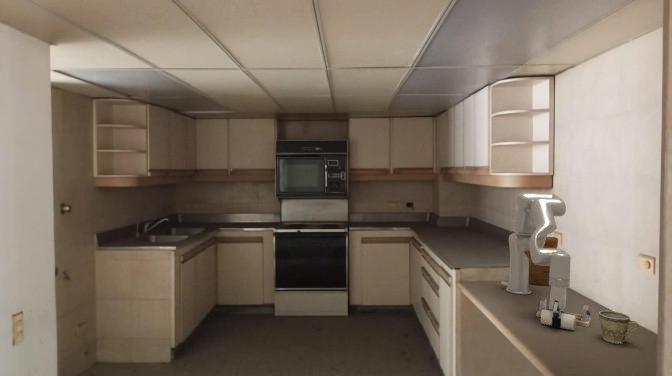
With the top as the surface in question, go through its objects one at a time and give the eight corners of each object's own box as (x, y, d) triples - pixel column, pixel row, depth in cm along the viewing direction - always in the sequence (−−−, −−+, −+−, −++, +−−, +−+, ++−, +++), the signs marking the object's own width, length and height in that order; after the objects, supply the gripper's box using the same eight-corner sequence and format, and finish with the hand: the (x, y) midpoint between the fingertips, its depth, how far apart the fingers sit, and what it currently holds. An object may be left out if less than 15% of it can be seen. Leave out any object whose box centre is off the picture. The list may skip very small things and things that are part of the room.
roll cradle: (536, 316, 190) (536, 301, 189) (540, 311, 197) (541, 296, 196) (588, 327, 177) (588, 310, 177) (591, 321, 185) (591, 305, 184)
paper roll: (540, 325, 179) (540, 311, 179) (543, 321, 184) (544, 307, 183) (572, 332, 171) (573, 317, 171) (575, 328, 176) (575, 313, 176)
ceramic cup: (593, 339, 165) (594, 313, 164) (604, 333, 171) (605, 308, 170) (632, 350, 154) (633, 323, 154) (642, 344, 160) (643, 318, 160)
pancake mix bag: (557, 288, 238) (559, 238, 237) (520, 284, 244) (522, 235, 243) (555, 284, 244) (557, 236, 243) (519, 281, 250) (520, 234, 249)
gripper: (553, 276, 186) (552, 317, 187) (544, 284, 172) (543, 328, 173) (573, 279, 181) (571, 321, 182) (565, 287, 168) (564, 333, 168)
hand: (557, 324), depth 178 cm, fingers closed on paper roll, 6 cm apart
